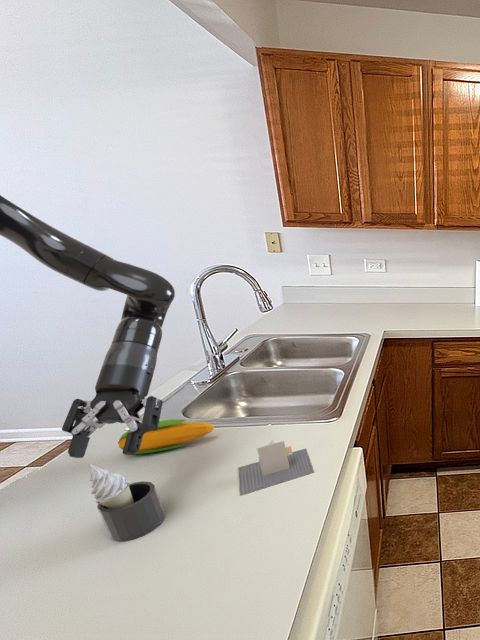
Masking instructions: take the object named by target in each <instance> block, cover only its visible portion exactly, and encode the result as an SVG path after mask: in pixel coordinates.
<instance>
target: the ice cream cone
mask: <svg viewBox="0 0 480 640" xmlns="http://www.w3.org/2000/svg"><path fill="white" fill-rule="evenodd" d="M88 467H89V473H90V478H89V481H91V482H92V485H91V488H90V489H91V491H90V494H91V495H94V500H95V503H96V504H98V503H99V504H101V505H103V506H105V507H107V508H109V509H117V508H122V507H125V506H128V505H131V504H133V503H134V500H133V497H132V494H131V491H130V488H129V484H130V483H129V481H128V480H127V479H126V478H125V477H124V475H122V474H120V473H112V472H110V471H109V470H108V469H104V468H100V467H98V466H96V465H93V464H91V463H88Z"/></svg>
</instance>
